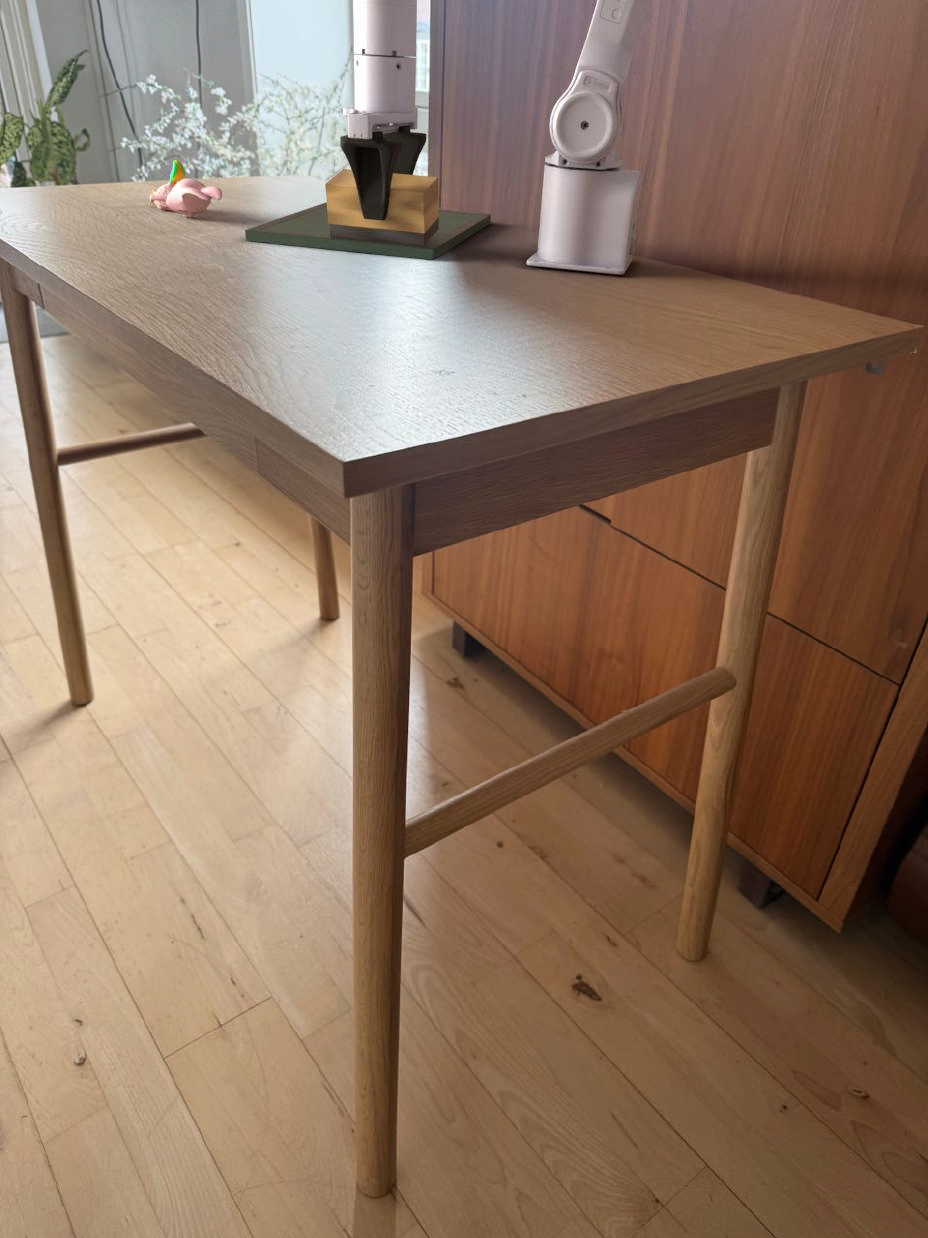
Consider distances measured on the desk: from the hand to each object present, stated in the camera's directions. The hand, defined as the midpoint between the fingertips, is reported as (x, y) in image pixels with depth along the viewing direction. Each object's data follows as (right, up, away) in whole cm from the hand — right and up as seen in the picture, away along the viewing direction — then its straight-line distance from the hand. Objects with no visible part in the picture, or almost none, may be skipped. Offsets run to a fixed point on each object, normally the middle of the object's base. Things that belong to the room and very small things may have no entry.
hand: (384, 214), depth 93 cm
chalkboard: (-2, +2, +10) cm, 10 cm away
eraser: (0, -1, +1) cm, 2 cm away
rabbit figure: (-23, +5, +13) cm, 27 cm away
